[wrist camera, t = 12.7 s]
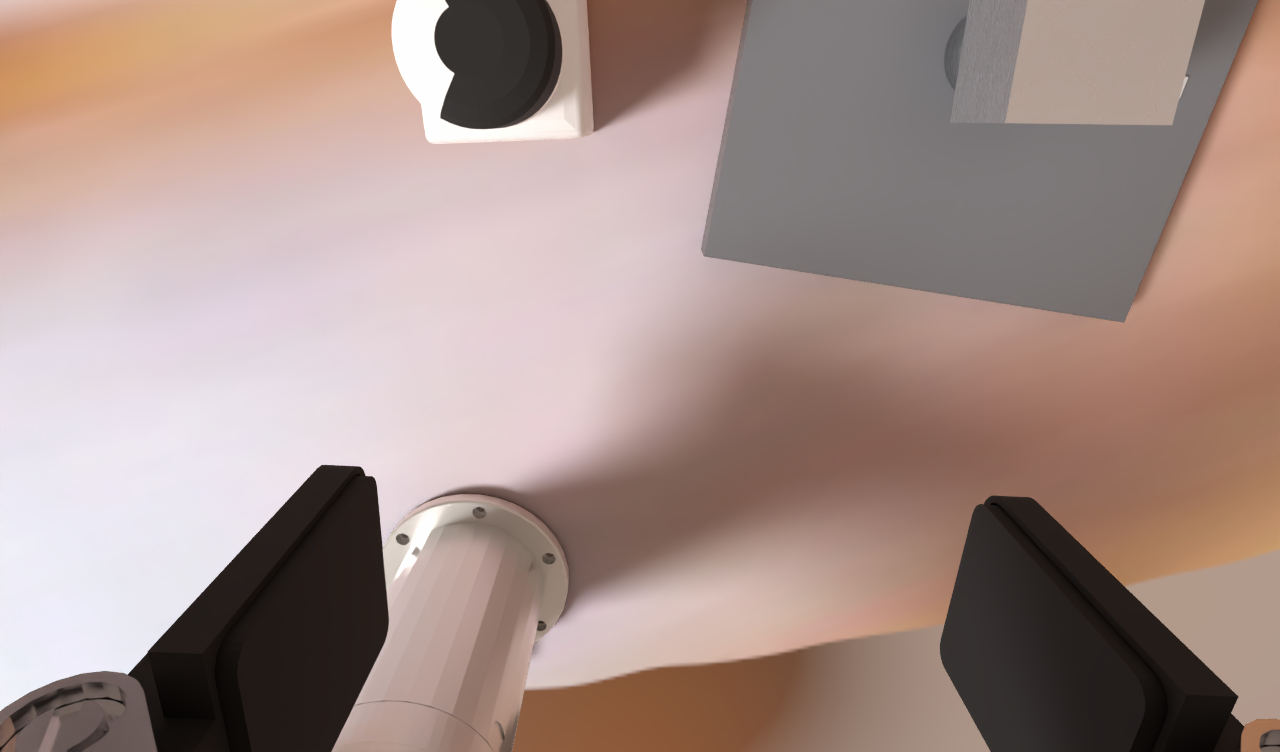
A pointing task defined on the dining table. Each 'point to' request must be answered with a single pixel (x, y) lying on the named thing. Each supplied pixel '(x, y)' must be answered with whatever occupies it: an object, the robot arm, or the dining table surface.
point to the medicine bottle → (496, 68)
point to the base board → (940, 163)
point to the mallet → (1074, 61)
